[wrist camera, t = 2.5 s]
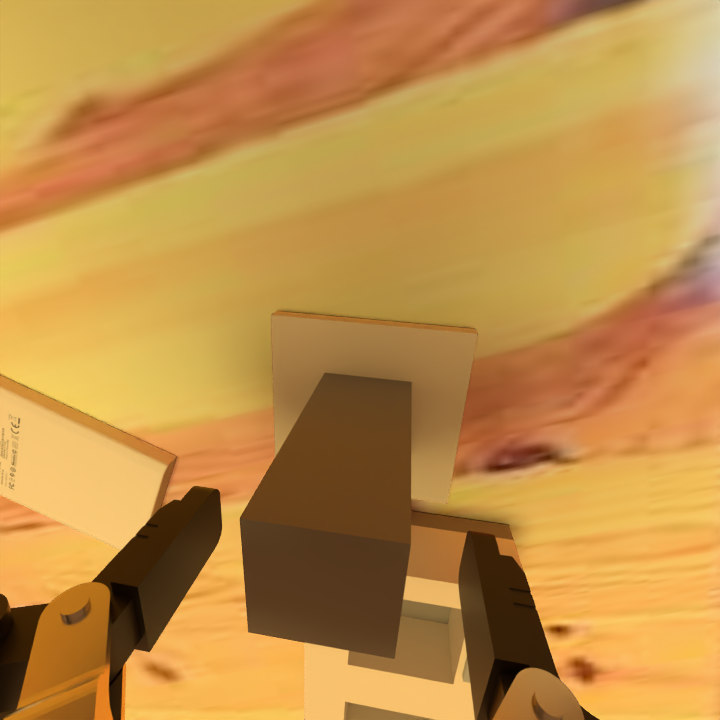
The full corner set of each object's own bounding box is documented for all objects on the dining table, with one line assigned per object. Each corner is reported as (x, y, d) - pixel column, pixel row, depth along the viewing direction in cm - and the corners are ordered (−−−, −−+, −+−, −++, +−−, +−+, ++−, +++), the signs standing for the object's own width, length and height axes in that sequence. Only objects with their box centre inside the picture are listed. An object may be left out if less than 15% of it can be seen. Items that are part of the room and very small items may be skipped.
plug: (324, 372, 17) (239, 517, 9) (411, 381, 17) (411, 544, 8) (322, 446, 18) (248, 632, 10) (402, 456, 18) (394, 659, 10)
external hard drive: (154, 541, 25) (-21, 462, 24) (182, 450, 22) (-17, 358, 21) (137, 562, 23) (-50, 478, 23) (165, 468, 20) (-51, 368, 20)
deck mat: (277, 311, 17) (270, 315, 16) (474, 328, 16) (477, 333, 15) (280, 470, 20) (275, 480, 20) (445, 493, 19) (447, 504, 19)
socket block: (324, 498, 21) (303, 565, 17) (508, 524, 20) (533, 602, 16) (319, 685, 27) (302, 767, 23) (459, 713, 26) (468, 803, 22)
